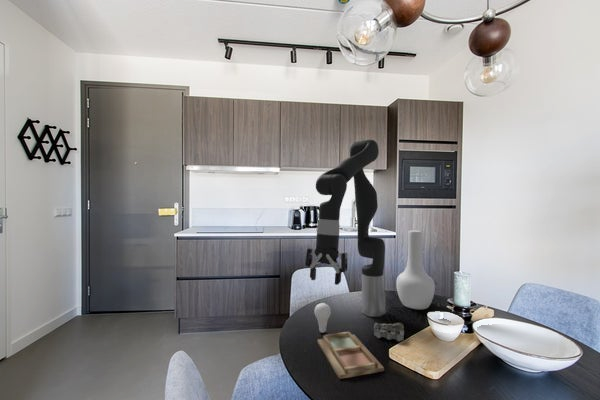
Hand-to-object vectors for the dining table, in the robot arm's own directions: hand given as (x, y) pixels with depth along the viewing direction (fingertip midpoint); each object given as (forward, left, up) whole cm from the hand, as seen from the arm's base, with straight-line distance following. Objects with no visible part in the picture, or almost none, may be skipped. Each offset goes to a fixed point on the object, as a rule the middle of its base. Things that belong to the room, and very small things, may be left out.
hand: (324, 282), depth 90 cm
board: (-6, +5, -23) cm, 24 cm away
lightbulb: (-3, -11, -23) cm, 26 cm away
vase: (-54, -25, -23) cm, 64 cm away
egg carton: (-26, -3, -23) cm, 35 cm away
